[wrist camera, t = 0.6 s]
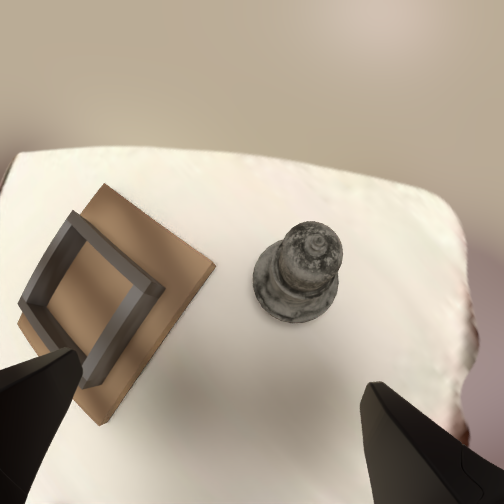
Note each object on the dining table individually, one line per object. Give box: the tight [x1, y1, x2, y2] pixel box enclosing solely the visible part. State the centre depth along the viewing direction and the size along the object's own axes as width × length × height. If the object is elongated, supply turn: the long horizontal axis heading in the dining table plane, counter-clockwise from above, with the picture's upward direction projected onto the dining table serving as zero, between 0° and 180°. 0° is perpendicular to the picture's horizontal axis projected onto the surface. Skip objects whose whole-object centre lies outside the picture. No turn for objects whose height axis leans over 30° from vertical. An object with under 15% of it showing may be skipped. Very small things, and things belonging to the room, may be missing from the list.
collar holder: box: [17, 183, 216, 426], centre depth 20 cm, size 18×14×4 cm
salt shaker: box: [253, 221, 343, 323], centre depth 16 cm, size 6×6×12 cm
